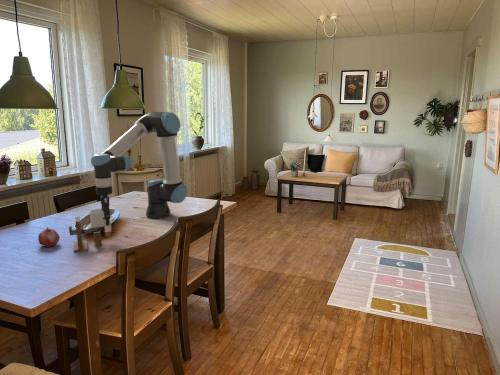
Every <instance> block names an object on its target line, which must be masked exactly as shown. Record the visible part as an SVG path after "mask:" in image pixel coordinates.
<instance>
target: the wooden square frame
mask: <svg viewBox="0 0 500 375" xmlns="http://www.w3.org/2000/svg"><path fill="white" fill-rule="evenodd" d="M74 217H75V228H76V229H75V230H76V231H77V235H76V240H75V241H73V253H82V252H87V251H88V249H89V248H88V241H87V240H86V239H85V240H83V234H81V229H82V227H81V226H82V225H81V216H74Z"/></svg>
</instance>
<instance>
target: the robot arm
mask: <svg viewBox="0 0 500 375" xmlns="http://www.w3.org/2000/svg"><path fill="white" fill-rule="evenodd" d="M180 128H181V120H180V118H179V117H178V115H177V114H176V113H174V112H169V111H152V112H148V113H145V114H144V115H143V116H141V117H140V118H138V119H137V120H136V121H135V122H134V123H133V125H132V127H131V128H130V129H128V130H127V131H126V132H125V133H123V134H122V135H121V136H120V137H118V139H116V140H115V141H114V142H113V143H112V144H111V145H109V146H108V147H107V148H106V149H105V150H103V151H102V152H101V153H96V154H93V155H92V156H91V158H90V163H91V166H92V167H93V169H94V179H93V182H95V194H96V195H98V196H100V197H99V200H100V204H101V208H100V209H102V211H103V212H102V219H103V224H104V225H105V231H104V233H105V232H110V231H111V225H112V223H111V212H110V196H108V195H111V194H112V193H113V179H112V173H118V172H125V171H128V170H130V169H131V168H132V160H131V158H130V156H128V155H123V154H124V153H126V152H127V151H128V150H129V149H130V148H131V147H133V145H135V144H136V143H137V142H138V141H139V140H140V139H141V138H142V137H146V136H147V135H149V134H151V133H156V138H158V139H159V142H160V143H159V144H160V152H161V157H162V158H161V160H162V167H163V175H164V178H156V179H151V180H148V182H147V184H146V186H147V187H146V190H147V191H146V192H147V202H148V203H147V208H146V211H145V217H147V218H149V219H158V220H159V219H164V218H168V217H171V213H172V212H171V210H170V209H171V208H170V206H169V204H168V203H172V204H181V203H183V201H185V199H186V198H187V194H188V188H187V185H185V184H184V183H183V179H182V178H181V177H180V171H179V164H178V153H177V146H176V143H177V142H176V138H177V137H178V132H179V131H180V130H181V129H180ZM111 232H112V231H111Z"/></svg>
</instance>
